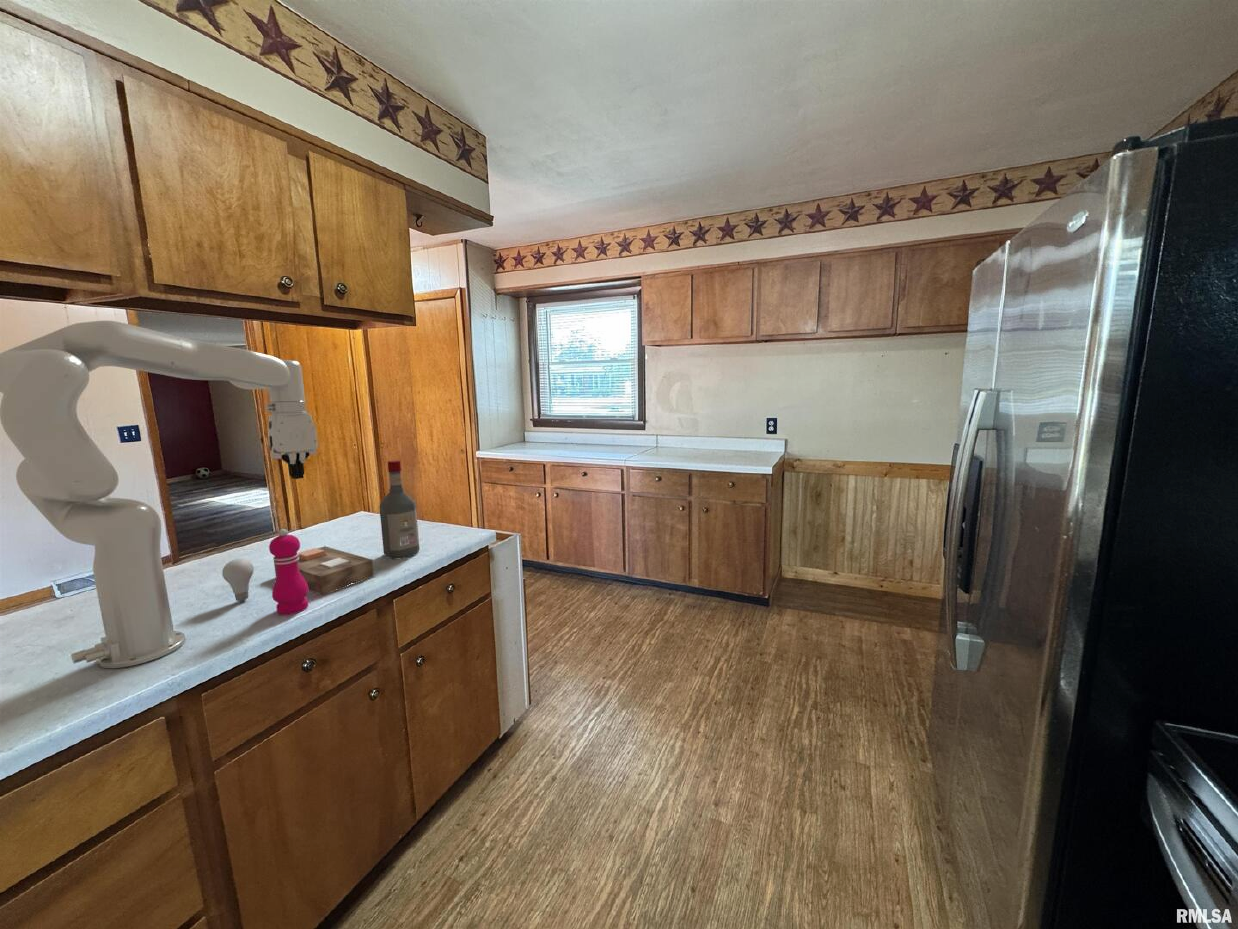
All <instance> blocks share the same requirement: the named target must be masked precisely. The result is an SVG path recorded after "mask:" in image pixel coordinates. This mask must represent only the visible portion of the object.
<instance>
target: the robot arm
mask: <svg viewBox="0 0 1238 929" xmlns="http://www.w3.org/2000/svg"><path fill="white" fill-rule="evenodd" d="M100 367H118V368H123V369H129V370H132V371H133V370H134V371H140V372H146V373H150V374H151V373H152V374H157V375H161V376H162V375H164V376H167V377H173V378H178V379H179V378H180V379H184V380H194V381H195V380H196V381H197V380H198V381H229V382H230V384H232V385H233V386H234V387H237V388H239V389H243V390H268V394H269V401H270V402H269V403H268V404H265V405H264V408H265V410H266V411H270V413H271V414H269V415H268V423H267V439H268V440H267V441H268V447H269V448H268V449H269V451H270V457H271V459H277V460H282V461H283V462H285V464H287V467H288V475H289V477H290V478H291V479H294V480H300V479H304V477H305V476H304V475H305V467H304V464H305V462H306V460H307V459H308V458H309V456H313V455H315V454H317V453H318V451H317V449H318V447H319V442H318V437H317V436H318V435H317V431H316V426H315V424H314V420H313V417H312V415H311V412H310V413H309V412H308V411H307V403H306V397H305V386H304V378H303V371H302V370H303V369H302V365H301V363H300V362H299V361H297V360H293V359H292V360H291V359H280V358H278V357H276V356H273V355H269V354H265V353H262V352H261V353H260V352H256V351H253V350H248V349H243V348H238V347H234V346H226V345H222V344H217V343H213V342H207V341H201V340H197V339H190V338H186V337H182V336H178V335H174V334H170V333H165V332H161V331H157V330H154V329H149V328H146V327H141V326H138V325H134V324H129V323H125V322H120V321H115V320H96V321H95V320H93V321H85V322H83V321H82V322H76V323H73V324H70V325H67V326H64V327H62V328H60V329H57V330H54V331H53V332H50V333H47V334H45V335H43V336H39V337H37V338H35V339H32V340H30V341H27V342H24V343H22V344H20V345H18V346H14V347H13V348H10V349H8V350H5V351H2V352H1V353H0V393H1V394H2V398H1V402H0V424H1V425H2V429H3V430H4V432H5V434H6V435H7V437H8V438H9V439H10V442H11V443H13V445H14V447H15V448H16V449H17V450H18V452H19V453H20V454H21V456H22V457H23V458H24V459H23V460H22V461H21V462H20V463H19V465H18V467H17V469H16V474H15V477H16V481H17V482H16V483H17V485H18V487H19V489H20V490H21V492H22V493H23V495H24V496H25V497H26V498H27V499H28V501H30V503H31V504H32V505H33V506H34V507H35V508H36V509H37V510H38V511H39V513H41V514H42V516H43V517H45V519H46V520H47V521H48V522H49V523H50V524H51V526H53V527H54V529H56V530H57V532H58V533H59V534H61V535H62V536H64V538H66V539H68V540H70V541H72V542H75V543H77V544H82V545H87V546H88V545H89V546H94V557H93V565H92V572H93V580H94V585H95V590H96V593H97V599H98V604H99V610H100V612H101V613H100V614H101V620H102V625H103V629H104V634H105V636H104V637H100V642H99V643H96V644H94V647H91V648H90V647H89V648H88V649H87V648H86V649H83V650H79V651H76V652H72V653H71V655H70V657H71V661H72V662H73V664H77V663H80V662H83V661H85V662H86V664H88V663H90V662H94V661H97V662H98V665H99V666H100V667H101V668H105V669H120V668H126V667H127V668H128V667H133V666H137V665H141V664H144V663H147V662H150V661H154V660H156V659H159V658H162V657H165V656H167V655H168V654H170V653H172V652H174V651H175V650H178V649H179V648H180V647H181V646H183V644H184V643H185V642H186V634H185V633H184V632H182V631H177V630H174V624H173V618H172V613H171V606H170V601H169V595H168V590H167V584H166V578H165V572H164V568H163V562H162V552H161V551H162V550H161V540H162V539H161V538H162V522H161V518H160V515H159V513H158V512H157V511H156V509H154V508H153V507H152V506H151V505H149V504H147V503H145V502H143V501H139V500H135V499H131V498H122V497H111V496H110V495H112V493H114V492H115V490H116V489H117V487H118V486H119V475H118V472H117V470H116V468H115V467H114V465H113V464H112V463H111V462H110V460H109V459H108V458H107V457H106V456H105V454H104V453H103V452H102V450H101V449H100V448H99V447H98V445H97V443H95V442H94V440H93V439H92V438H91V437H90V435H89V434H88V432H87V431H86V430H85V428H84V427H83V425H82V423H81V422H80V420H79V417H78V413H77V407H78V402H79V400H80V398H81V395H82V394H83V392H84V391H85V390H86V388H87V386H88V385H89V381H90V373H91V372H93V371H95V370H96V369H98V368H100ZM294 453H295V454H294Z"/></svg>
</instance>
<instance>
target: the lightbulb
mask: <svg viewBox="0 0 1238 929" xmlns="http://www.w3.org/2000/svg"><path fill="white" fill-rule="evenodd" d="M221 572H222V573H221V574H222V577H223V579H224V580H225V582H227V583H228V585H229V586H230V587H231V589H232V593H233V594H234V597H235V598H234V599H235V600H236V601H237V602H241V603H243V602H245V601H246V600H247V599H248V598H249V590H250V581H251V579H252V577H253V574H254V565H253V564H252V562H251V561H250V560H248V559H245V558H234V559H232V560H230V561H229V562H227V563H225V565H224V567H223V569H222V571H221Z"/></svg>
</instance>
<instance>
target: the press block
mask: <svg viewBox="0 0 1238 929" xmlns="http://www.w3.org/2000/svg"><path fill="white" fill-rule="evenodd" d="M317 549H320V550H324V551H325V556H323V557H320V558H316V559H313V560H310V561H303V560H298V568H299V571H300V573H301V575H302V576H303V578H304V579H305V580H306V582H307V584H308V588H309V591H311V592H313V591H314V592H313V593H317V594H319V595H321V596H324V595H327V594H329V592H330V593H332V592H331V591H333V592H335V591H337V590H336V589H338V590H340V589H341V590H342V589H344V588H346V587H348V586H347V585H349V584H351V583H355V584H357V583H359V582H358V581H360V582H362V581H361V580H363V581H365V580H364V579H366V578H369V577H371V578H374V577H375V574H374V565H373V559H371V558H368V557H364V556H360V555H358V554H354V553H351V552H346V551H343V550H339V549H336V548H333V547H330V546H326V545H324V546H321V547H318V548H317ZM337 558H341V559H344V560H348V561H349V563H348V564H345V565H342V566H339V567H336V568H333V569H327V568H324V567H321V565H320V563H324V562H327V561H330V560H333V559H337ZM273 564H274V563H273ZM274 574H275V579H276V578H277V566H276V564H274ZM369 579H370V578H369ZM366 580H367V579H366ZM356 582H357V583H356ZM345 586H346V587H345ZM349 586H350V585H349ZM343 587H344V588H343ZM334 590H335V591H334Z"/></svg>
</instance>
